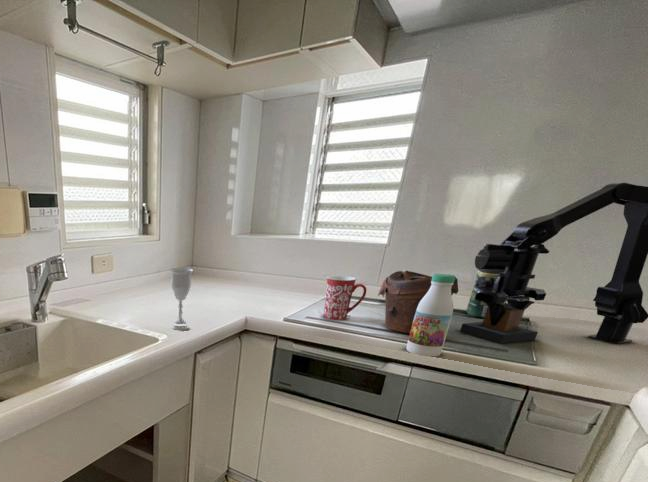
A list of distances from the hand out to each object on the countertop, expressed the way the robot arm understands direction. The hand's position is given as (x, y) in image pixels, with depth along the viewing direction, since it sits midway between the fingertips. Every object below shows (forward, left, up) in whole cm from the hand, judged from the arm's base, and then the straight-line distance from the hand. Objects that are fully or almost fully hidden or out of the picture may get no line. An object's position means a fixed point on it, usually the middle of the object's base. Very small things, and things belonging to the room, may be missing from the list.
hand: (500, 324), depth 117 cm
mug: (+31, -30, -4) cm, 43 cm away
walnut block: (0, 0, -2) cm, 2 cm away
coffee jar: (-18, -20, -4) cm, 27 cm away
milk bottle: (+34, +6, -4) cm, 34 cm away
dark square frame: (0, 0, -3) cm, 3 cm away
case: (+20, -13, -4) cm, 24 cm away
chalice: (+88, -33, -4) cm, 93 cm away
